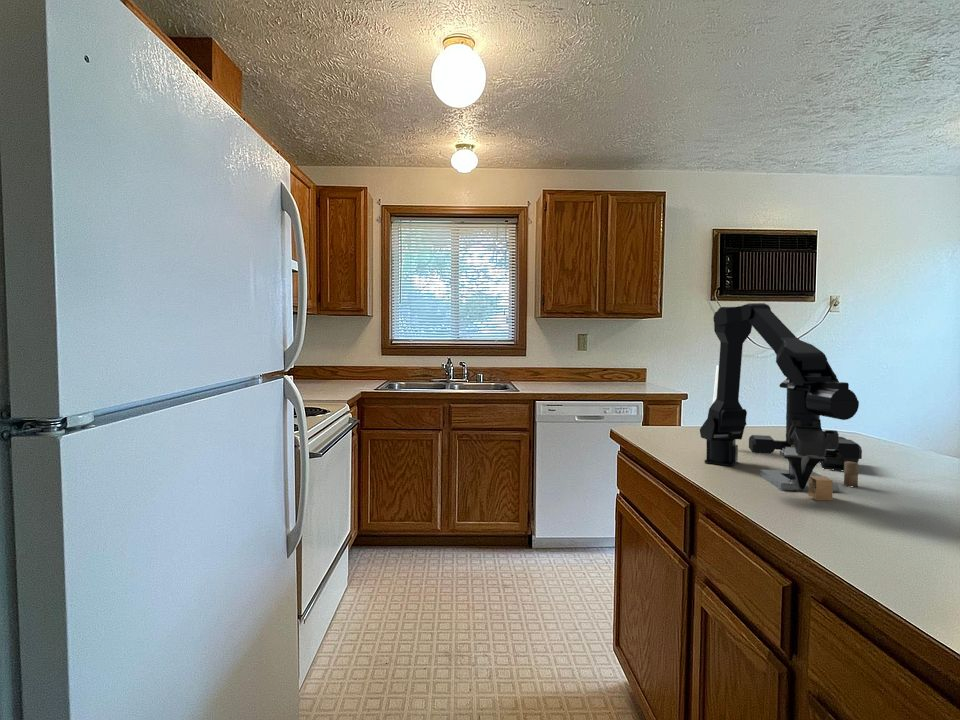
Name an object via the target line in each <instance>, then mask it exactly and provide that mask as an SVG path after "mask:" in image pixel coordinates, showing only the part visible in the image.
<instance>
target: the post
mask: <svg viewBox="0 0 960 720" xmlns="http://www.w3.org/2000/svg"><path fill="white" fill-rule="evenodd" d="M801 464H802V461H801ZM788 470H789V479H790V480H796V477H795V475H794V472H793V469H792V467H791V465H790V463H789V462H788Z"/></svg>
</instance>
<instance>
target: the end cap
mask: <svg viewBox="0 0 960 720" xmlns="http://www.w3.org/2000/svg"><path fill="white" fill-rule="evenodd" d="M839 439H847V438H845V437H843V436H839ZM824 457H825V458H826V461H820V462H819V464H820V463H821V464H820V466H821V468H824V469H823V470H825V469H834V470H833V471H835V470H844V462H846V461H850V462H856V463H858V464H859V461H860V459H848V458H842V457H841V456H840V455H839V454H838V453H831V452H826V455H825V456H824Z"/></svg>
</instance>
